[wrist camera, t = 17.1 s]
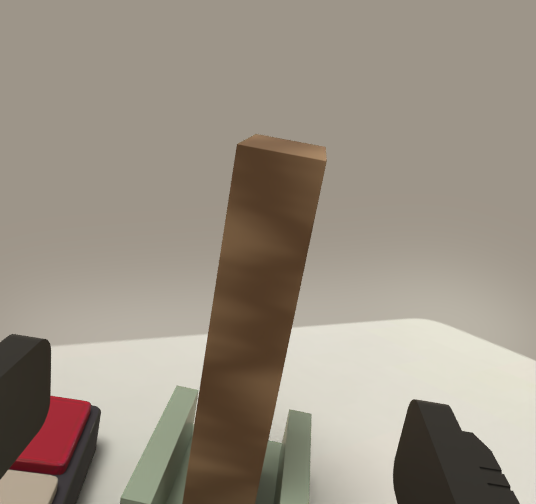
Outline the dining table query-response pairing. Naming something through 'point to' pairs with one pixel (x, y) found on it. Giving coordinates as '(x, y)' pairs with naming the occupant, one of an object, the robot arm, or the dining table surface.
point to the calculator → (54, 456)
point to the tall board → (252, 314)
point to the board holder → (178, 452)
